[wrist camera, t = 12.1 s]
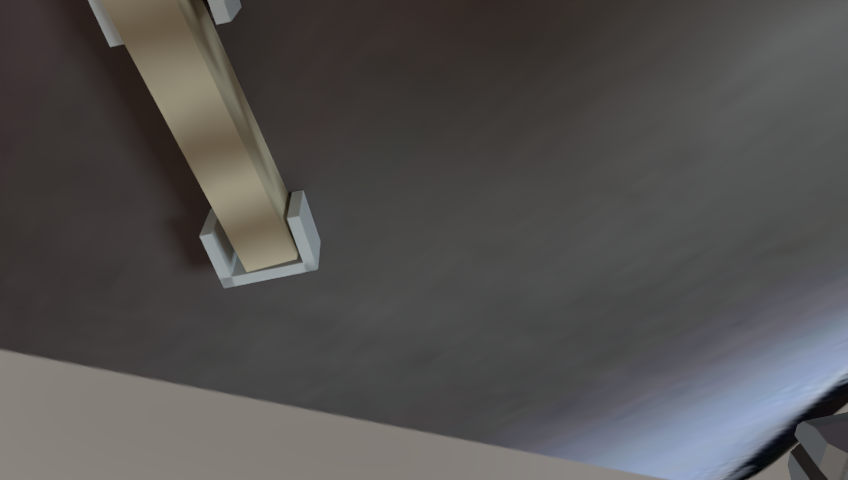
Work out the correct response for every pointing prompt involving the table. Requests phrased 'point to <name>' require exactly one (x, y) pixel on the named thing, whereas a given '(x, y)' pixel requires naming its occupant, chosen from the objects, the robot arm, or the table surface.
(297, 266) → the cap
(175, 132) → the tan wooden beam
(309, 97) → the table surface
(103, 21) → the cap
